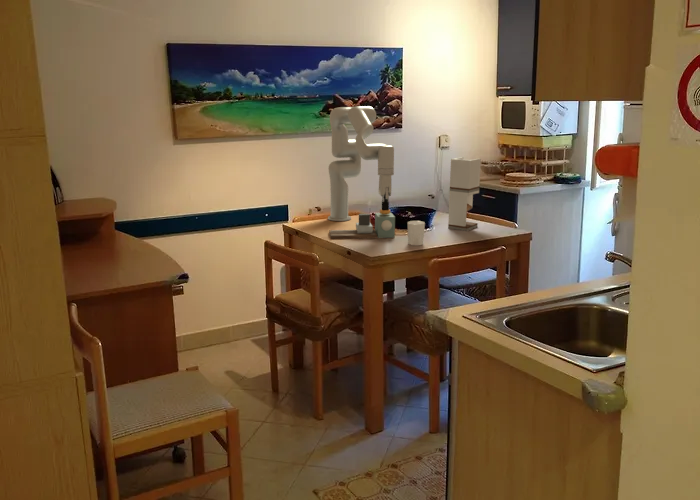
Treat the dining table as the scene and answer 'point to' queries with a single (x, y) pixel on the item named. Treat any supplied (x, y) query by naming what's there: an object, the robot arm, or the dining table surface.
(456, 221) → the coffee grinder
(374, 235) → the rail board
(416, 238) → the white cup
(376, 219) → the pale green block
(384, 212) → the button
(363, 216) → the carriage
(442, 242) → the dining table surface
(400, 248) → the dining table surface
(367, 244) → the dining table surface
